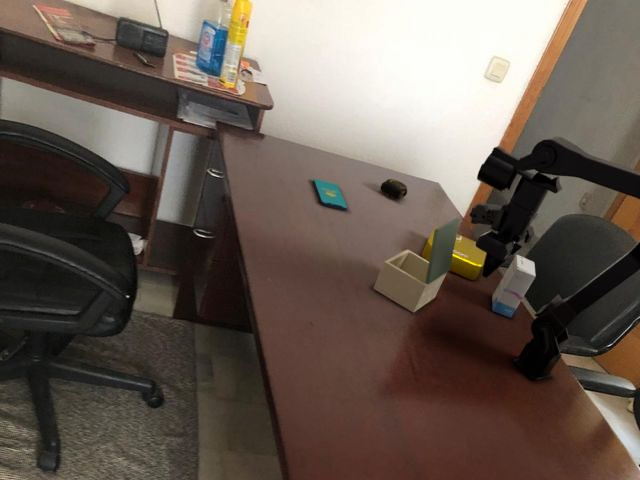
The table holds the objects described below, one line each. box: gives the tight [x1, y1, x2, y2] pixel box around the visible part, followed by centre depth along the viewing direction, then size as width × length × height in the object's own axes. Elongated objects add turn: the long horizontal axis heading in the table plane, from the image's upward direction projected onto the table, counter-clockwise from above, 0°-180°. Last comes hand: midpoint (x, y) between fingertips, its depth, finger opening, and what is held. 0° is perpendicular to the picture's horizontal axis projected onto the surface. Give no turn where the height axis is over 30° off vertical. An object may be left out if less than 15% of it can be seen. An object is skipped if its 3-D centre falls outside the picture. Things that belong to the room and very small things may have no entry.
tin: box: [373, 249, 447, 314], centre depth 145 cm, size 11×12×7 cm
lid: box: [425, 217, 461, 284], centre depth 138 cm, size 11×12×1 cm
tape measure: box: [380, 178, 408, 201], centre depth 190 cm, size 7×7×4 cm
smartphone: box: [312, 178, 348, 211], centre depth 176 cm, size 7×1×15 cm
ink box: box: [491, 254, 537, 319], centre depth 154 cm, size 9×5×12 cm, turn 168°
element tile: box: [421, 225, 487, 281], centre depth 168 cm, size 15×15×5 cm
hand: (486, 274), depth 135 cm, fingers open, 3 cm apart
